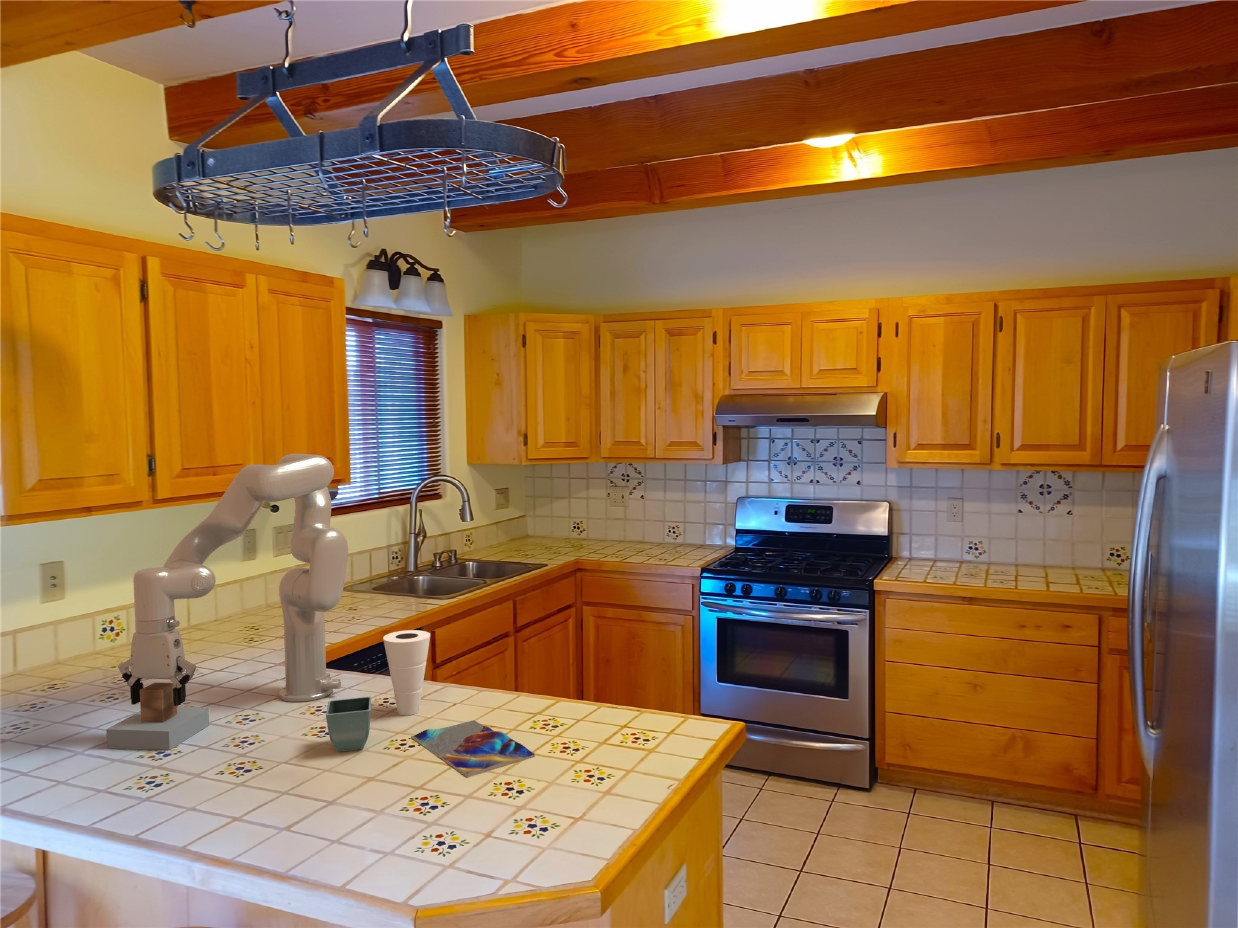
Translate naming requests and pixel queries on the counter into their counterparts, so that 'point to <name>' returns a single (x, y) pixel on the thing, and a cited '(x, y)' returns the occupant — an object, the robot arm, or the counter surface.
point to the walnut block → (157, 702)
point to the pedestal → (157, 730)
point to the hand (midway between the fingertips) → (158, 703)
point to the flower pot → (349, 723)
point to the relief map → (472, 747)
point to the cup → (407, 667)
